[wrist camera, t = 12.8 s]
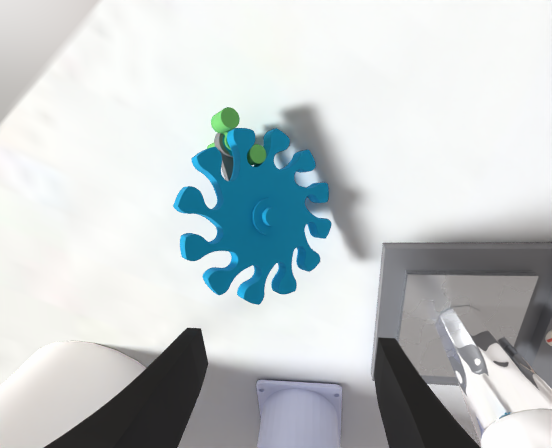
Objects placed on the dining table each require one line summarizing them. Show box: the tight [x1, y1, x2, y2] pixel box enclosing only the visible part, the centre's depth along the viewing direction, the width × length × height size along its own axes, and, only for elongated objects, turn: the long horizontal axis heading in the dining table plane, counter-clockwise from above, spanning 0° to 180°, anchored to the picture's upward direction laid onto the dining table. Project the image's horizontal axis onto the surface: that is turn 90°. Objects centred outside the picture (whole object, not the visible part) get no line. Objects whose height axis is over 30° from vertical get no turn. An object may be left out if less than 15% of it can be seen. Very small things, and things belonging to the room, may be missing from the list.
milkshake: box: [436, 306, 552, 448], centre depth 17 cm, size 5×5×10 cm
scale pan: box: [396, 270, 539, 377], centre depth 22 cm, size 10×8×1 cm
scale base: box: [371, 243, 552, 389], centre depth 22 cm, size 13×13×2 cm
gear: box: [173, 107, 331, 305], centre depth 18 cm, size 11×6×10 cm
